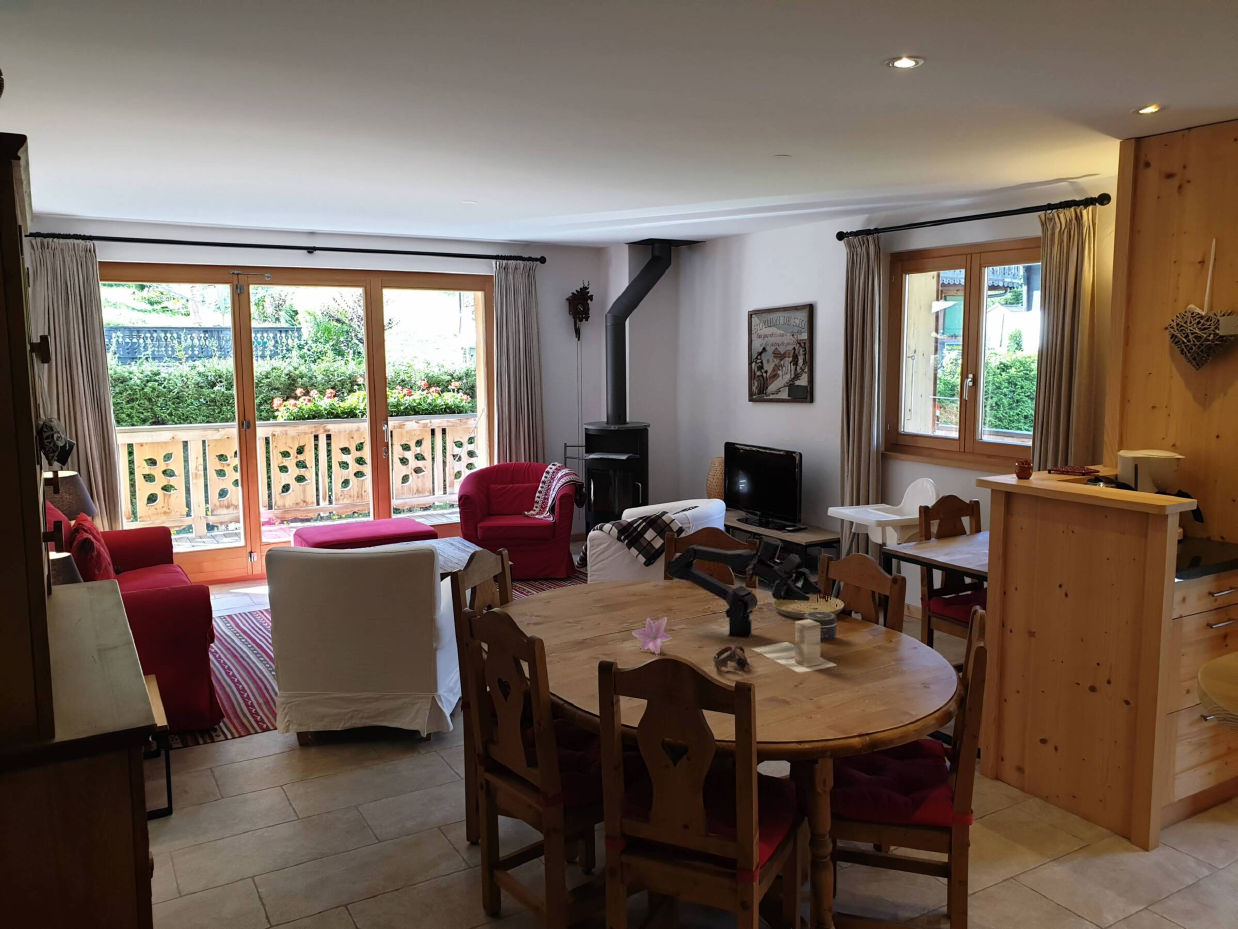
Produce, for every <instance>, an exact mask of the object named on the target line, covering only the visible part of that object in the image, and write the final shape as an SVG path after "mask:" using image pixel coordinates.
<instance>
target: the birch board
mask: <svg viewBox="0 0 1238 929" xmlns="http://www.w3.org/2000/svg"><path fill="white" fill-rule="evenodd" d="M750 649H751V650H753V651H755V652H757V653H758V654H760V655H762V656H765V657H767V658H769V659H771V660H773V661H775V662H777V663H778V664H781V665H782V666H785V667H787V668H789V669H791V670H793V671H794V672H796V673H799V674H801V673H803V674H804V673H808V672H811V671H816V670H817V671H818V670H821V669H826V668H830V667H836V666H837V663H836V664H835V663H834V662H832V661H830V660H827V659H825V658H823V657H821V656H820V665H818V666H813V667H808V668H806V667H804V666H802V665H800V664H797V663H795V644H793V643H790V642H788V641H784V642H779V643H774V644H768V645H762V646H757V647H752V648H750Z"/></svg>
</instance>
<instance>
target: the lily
mask: <svg viewBox="0 0 1238 929" xmlns="http://www.w3.org/2000/svg"><path fill="white" fill-rule="evenodd" d="M667 621H668V617H667V616H665V617H662V618H661V619H659V620H657V621H656V622H655V623H654V622H653V621H652V619H651V618H650V617H647V618H646V620H645V627H641V628H637V629H635V630H633V631H632V632H631V634H632V635H633V636H634V637H635V638H637V639H638V640H639V641H641V644H640V646H639V649H640V648H645V650H646V649H647V650H648V648H649V649H650V650H651V651H652V652H653V651H654V652H655V653H657V654H658V653H659V654H660V651H661V644H662V643H661V642H666V641H670V640H672V636H671V635H670V634H668V633H666V632H665V631H664V629H665V627H666V624H667Z"/></svg>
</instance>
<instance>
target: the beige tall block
mask: <svg viewBox="0 0 1238 929" xmlns="http://www.w3.org/2000/svg"><path fill="white" fill-rule="evenodd" d="M794 632H795V634H794V638H795V639H794V643H795V644H794V646H795V663H797V664H800V665H802V666H804V667H806V668H808V667H813V666H818V665H820V657H821V640H820V623H817V622H815V621H812V620H810V619H807V620H804V619H801V620H797V621H796V620H795V623H794Z"/></svg>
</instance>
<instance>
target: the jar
mask: <svg viewBox="0 0 1238 929" xmlns="http://www.w3.org/2000/svg"><path fill="white" fill-rule="evenodd" d="M807 619H810V620H812V621H815V622H817V623H820V642H821V641H830V640H832V641H835V639H836V637H837V615H834V614H832V613H829V612H823V611H813V612H808V613H806V614H805V615H804V619H803V620H807Z"/></svg>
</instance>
